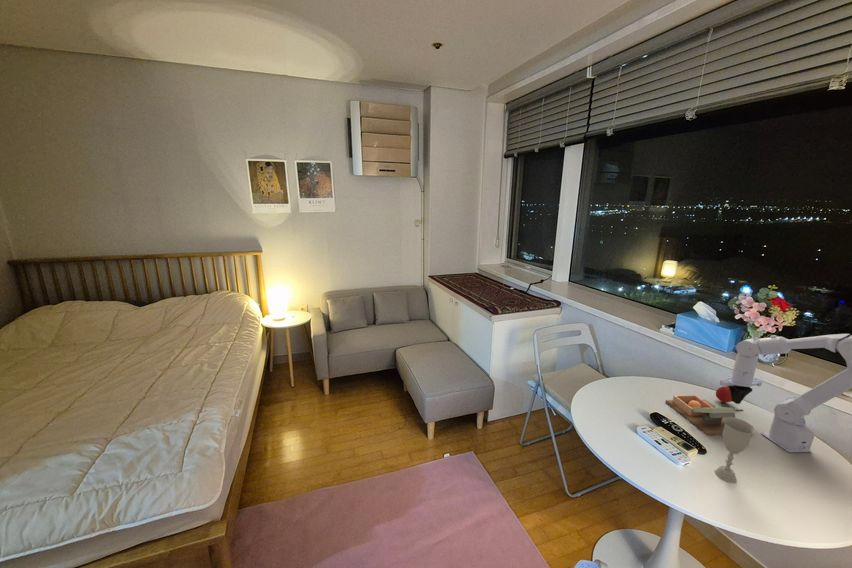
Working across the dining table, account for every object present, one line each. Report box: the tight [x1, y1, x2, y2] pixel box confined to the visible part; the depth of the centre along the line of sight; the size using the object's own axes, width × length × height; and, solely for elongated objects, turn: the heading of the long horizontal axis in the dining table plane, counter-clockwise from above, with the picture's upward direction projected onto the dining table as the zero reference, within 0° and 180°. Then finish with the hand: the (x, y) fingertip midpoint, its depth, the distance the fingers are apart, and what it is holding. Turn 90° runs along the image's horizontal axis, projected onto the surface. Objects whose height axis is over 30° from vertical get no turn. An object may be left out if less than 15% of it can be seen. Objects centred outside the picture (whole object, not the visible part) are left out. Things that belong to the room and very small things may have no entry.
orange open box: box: [672, 394, 713, 416], centre depth 132 cm, size 9×9×3 cm
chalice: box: [714, 417, 756, 484], centre depth 99 cm, size 7×7×18 cm
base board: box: [665, 398, 725, 436], centre depth 128 cm, size 20×17×5 cm
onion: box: [715, 386, 733, 404], centre depth 137 cm, size 6×6×8 cm
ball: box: [688, 400, 701, 408], centre depth 131 cm, size 4×4×4 cm
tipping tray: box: [693, 406, 744, 418], centre depth 123 cm, size 10×18×3 cm
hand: (735, 402), depth 126 cm, fingers closed
